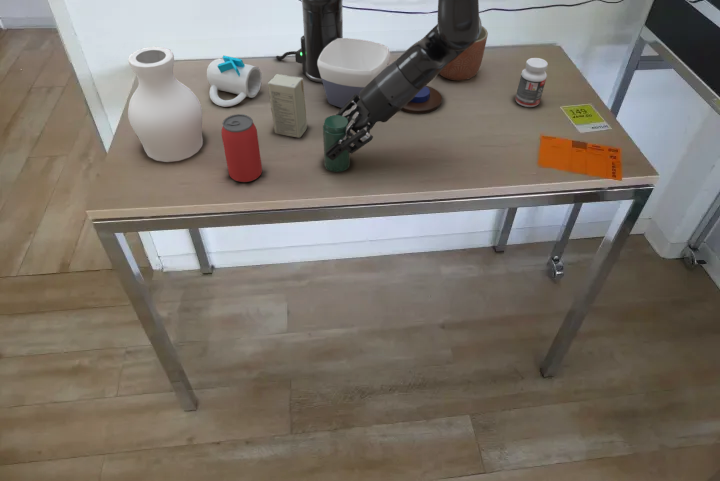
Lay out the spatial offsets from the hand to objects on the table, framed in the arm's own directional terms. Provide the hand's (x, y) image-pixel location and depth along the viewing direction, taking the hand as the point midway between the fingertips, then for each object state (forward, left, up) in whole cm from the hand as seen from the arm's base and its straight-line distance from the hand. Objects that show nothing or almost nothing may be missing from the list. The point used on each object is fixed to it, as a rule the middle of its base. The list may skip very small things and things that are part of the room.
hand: (327, 147), depth 112 cm
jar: (+1, +1, -4) cm, 5 cm away
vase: (-32, -11, -4) cm, 34 cm away
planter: (+7, +49, -4) cm, 50 cm away
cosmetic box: (-14, +6, -4) cm, 15 cm away
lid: (+4, +32, -2) cm, 33 cm away
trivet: (+4, +32, -4) cm, 33 cm away
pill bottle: (+27, +45, -4) cm, 53 cm away
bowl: (-9, +25, -4) cm, 27 cm away
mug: (-35, +11, -4) cm, 37 cm away
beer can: (-13, -11, -4) cm, 17 cm away
